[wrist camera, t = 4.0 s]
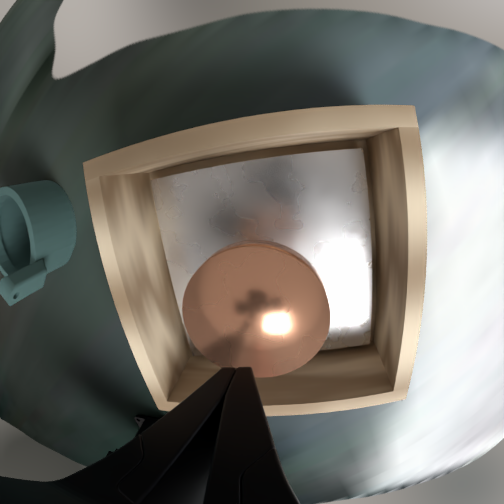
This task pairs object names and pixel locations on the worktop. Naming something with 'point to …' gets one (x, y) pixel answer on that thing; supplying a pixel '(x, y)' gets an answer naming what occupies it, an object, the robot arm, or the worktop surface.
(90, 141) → the worktop surface
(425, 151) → the worktop surface
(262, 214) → the plunger
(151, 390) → the box
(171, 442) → the robot arm
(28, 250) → the bracket
